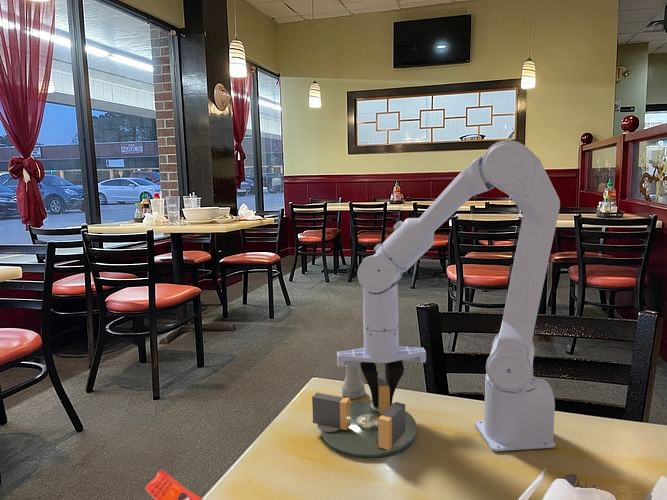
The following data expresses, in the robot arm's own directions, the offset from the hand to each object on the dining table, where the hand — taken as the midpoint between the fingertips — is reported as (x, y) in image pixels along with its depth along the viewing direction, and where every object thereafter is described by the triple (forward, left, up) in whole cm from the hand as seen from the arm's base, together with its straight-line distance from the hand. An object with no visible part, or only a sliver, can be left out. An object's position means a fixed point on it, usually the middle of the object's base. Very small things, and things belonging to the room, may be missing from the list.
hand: (381, 403), depth 84 cm
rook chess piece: (+4, -8, -2) cm, 9 cm away
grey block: (0, 0, 0) cm, 1 cm away
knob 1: (+9, +5, -1) cm, 10 cm away
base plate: (+3, +5, -2) cm, 6 cm away
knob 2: (0, +11, -1) cm, 11 cm away
